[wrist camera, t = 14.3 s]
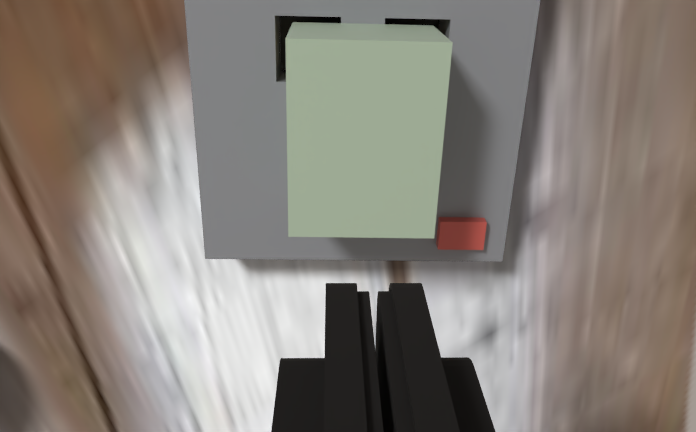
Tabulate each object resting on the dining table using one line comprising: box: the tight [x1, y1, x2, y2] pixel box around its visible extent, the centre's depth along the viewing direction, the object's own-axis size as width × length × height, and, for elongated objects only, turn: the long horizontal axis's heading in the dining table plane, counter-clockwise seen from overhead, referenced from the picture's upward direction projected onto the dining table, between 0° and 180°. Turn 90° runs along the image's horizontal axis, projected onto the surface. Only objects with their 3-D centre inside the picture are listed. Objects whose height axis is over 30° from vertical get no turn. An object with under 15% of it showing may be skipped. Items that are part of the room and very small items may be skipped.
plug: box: [285, 22, 453, 238], centre depth 29 cm, size 8×7×8 cm
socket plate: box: [184, 0, 540, 261], centre depth 31 cm, size 16×16×4 cm
